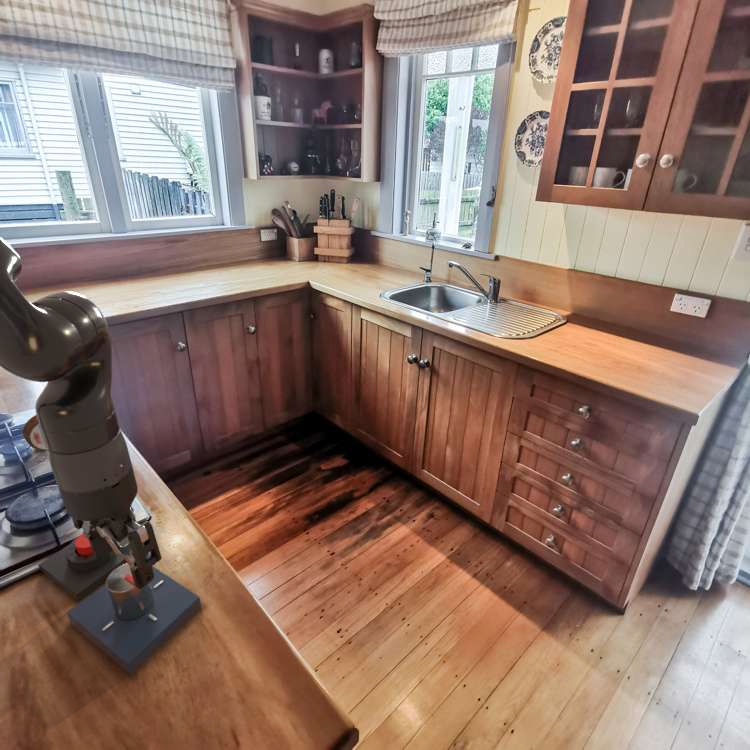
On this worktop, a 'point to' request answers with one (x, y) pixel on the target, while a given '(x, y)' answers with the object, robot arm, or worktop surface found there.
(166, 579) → the panel
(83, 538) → the button
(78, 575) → the housing
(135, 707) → the worktop surface
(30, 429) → the tin
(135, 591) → the knob
